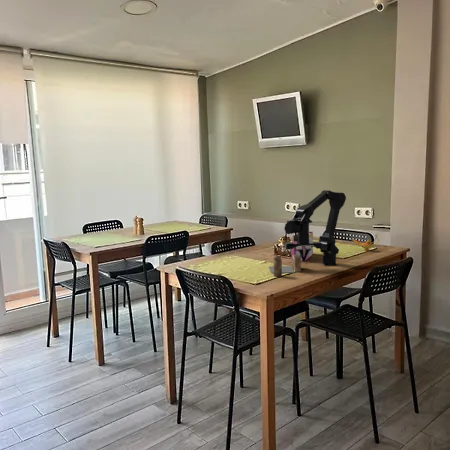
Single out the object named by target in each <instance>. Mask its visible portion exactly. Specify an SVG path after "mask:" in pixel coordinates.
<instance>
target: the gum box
mask: <svg viewBox="0 0 450 450" xmlns="http://www.w3.org/2000/svg"><path fill="white" fill-rule="evenodd" d="M295 235H297V236H298V233H295ZM291 242H293V244H298V243H297V241H293V236H292V237H291ZM313 242H314V233H313V231H309V243H313ZM302 249H303V255H304V247H302ZM313 254H314V247H311V250H310V251H309V252H308V254H307V257H306V259H305V261H307V260H308V259H309V258H310V257H311V256H312V255H313ZM293 255H299V256H300V258H301V255H300V252H299V251H297V250H296V247H294V248H293V249H291V262H293ZM301 262H303V261H302V258H301Z"/></svg>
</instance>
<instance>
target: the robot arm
mask: <svg viewBox="0 0 450 450" xmlns="http://www.w3.org/2000/svg"><path fill="white" fill-rule="evenodd" d="M327 200H328V203H329V207H330V208H329V209H330V210H329V214H328V218H327V223H326V226H325V231H324V233H323V235H319V240H318V241H313V243H309V232H310V224H312V223H313V221H312V220H311V217H312V216H313V215H314V212H315V210H317V209H318V208H319V207H321V205H323V204H324V203H325V202H326V201H327ZM346 200H347V195H346V194H345V193H344V192H338V191H337V192H336V191H331V190H327V189H326V190H325V189H323V190H322V191H321V192H320V193H319V194H318V195H317V196H315V197H314V198H313V199H312V200H311V201H309V202H308V203H306V204H303V205H301V206H299V207H297V208H296V210H295V213H294V215H293V216H292V218H291V220H286V223H285V225H284V228H283V229H284V232H285V233H286V234H287V235H292V234H294V235H293V236H292V237H293V241H297V243H298V244H293V242H292V241H291V242H289V241H288V242H287V241H286V242H285V243H284V248H285V250H292V249H293V248H294V247H296V250H297V251H299V252H300V255H301V258H302V261H301V262H304V263H305V261H306V260H305V259H306V257H307V254H308V252H309V251H310V250H311V247H313V248H316V249H319V250H320V251H319V252H320V253H322V255H321V262H322V265H324V266H337V265H338V264H337V254H339V253H340V249H339V248H338V247H337V245H336V238H335V233H336V227H337V225H338V224H337V223H338V220H339V215H340V210H341V209H342V207H344V206H345V203H346ZM296 234H298V236H297V235H296ZM302 247H304V255H303V249H302Z"/></svg>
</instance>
